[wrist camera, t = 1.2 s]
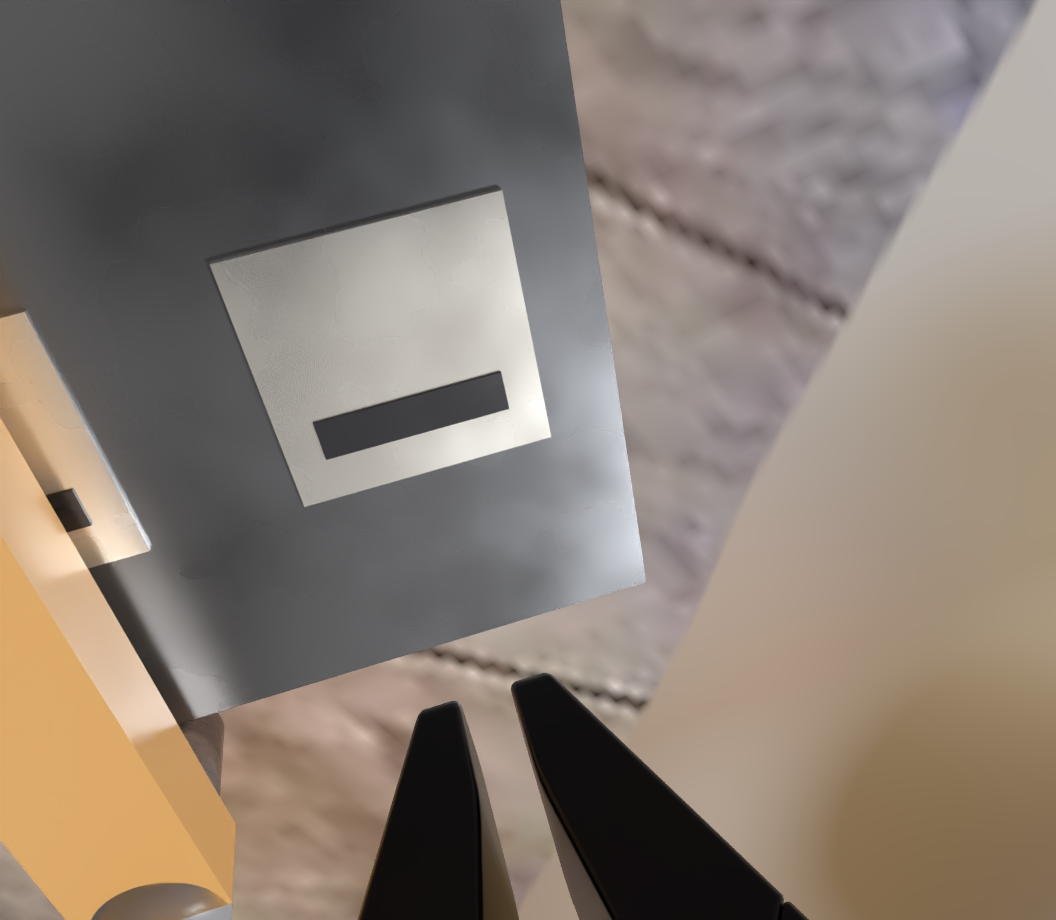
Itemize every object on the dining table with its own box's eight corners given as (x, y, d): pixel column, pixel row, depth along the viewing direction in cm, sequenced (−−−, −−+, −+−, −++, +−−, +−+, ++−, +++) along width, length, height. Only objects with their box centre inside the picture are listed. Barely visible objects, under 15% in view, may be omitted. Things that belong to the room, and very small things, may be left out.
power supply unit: (625, 624, 26) (666, 707, 23) (46, 802, 24) (17, 914, 21) (497, -133, 16) (542, -142, 13) (-489, 84, 14) (-666, 123, 12)
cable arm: (256, 860, 22) (254, 938, 20) (130, 900, 22) (118, 984, 20) (-180, 107, 12) (-251, 137, 11) (-413, 160, 12) (-523, 200, 11)
